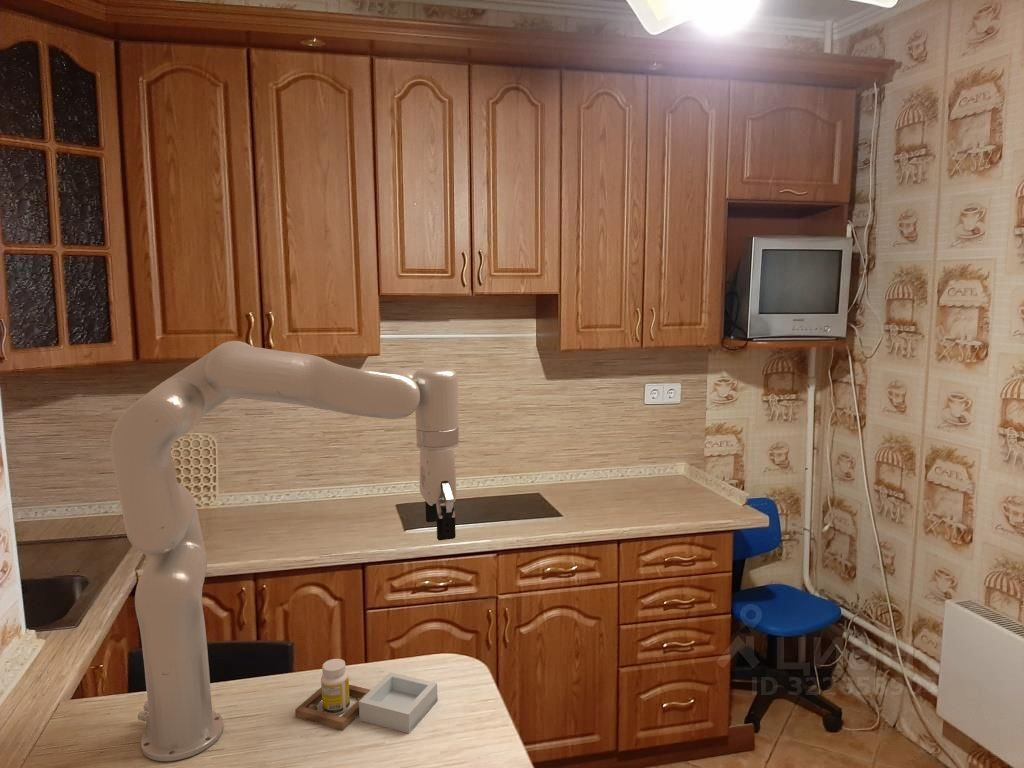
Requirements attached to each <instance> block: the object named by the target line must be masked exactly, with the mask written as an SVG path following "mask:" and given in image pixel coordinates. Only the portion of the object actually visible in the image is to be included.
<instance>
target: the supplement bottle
mask: <svg viewBox="0 0 1024 768" xmlns="http://www.w3.org/2000/svg"><path fill="white" fill-rule="evenodd" d="M346 667H347V666H346V662H345V660H344V659H341V658H332V659H328V660H326V661H325V662H324V663H323V664H322V669H321V670H322V672H321V673H322V675H321V678H320V684H321V687H322V701H321V702H322V703H321V704H322V710H323V711H322V712H325V713H329V714H332V715H336V716H339V715H341V714H344V713H345V712H346V711H348V710H349V709H350V707H351V697H350V696H349V685H350V683H349V680H350V679H349V673H348V671H347V670H346V669H347V668H346ZM321 687H320V688H321Z"/></svg>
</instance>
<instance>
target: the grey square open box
mask: <svg viewBox="0 0 1024 768" xmlns="http://www.w3.org/2000/svg"><path fill="white" fill-rule="evenodd" d="M438 699H439V697H438V683H437V682H433V681H430V680H425V679H420V678H417V677H412V676H408V675H405V674H404V675H403V674H400V673H395V672H392V671H389V672H387V674H386V675H385V676H384V677H383V678H382V679H381V680H379V682H378V683H377V684H376V685H374V687H372V689H370V691H369V692H368V693H367V694H366V695H365V696H364V697H363V698H362V699H361V700H360V701H359V715H358V717H359V721H362V722H365V723H369V724H373V725H377V726H381V727H385V728H388V729H392V730H396V731H398V732H403V733H407V734H410V733H411V732H413V730H414V729H415V728H416V727H417V725H418V724H419V723H420V722H421V721H422V720H423V718H424V717H425V716H426V715H427V714H428V713H429V711H431V709H432V708H433V707H434V706H435V705H436V704H437V702H438Z"/></svg>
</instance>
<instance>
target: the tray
mask: <svg viewBox="0 0 1024 768" xmlns="http://www.w3.org/2000/svg"><path fill="white" fill-rule="evenodd" d="M370 690H371V689H369V688H364V687H361V686H357V685H353V684H349V697H350V696H352V697H351V698H354V697H355V698H354V699H358V698H359V699H358V700H357V701H356V702H355V703H354V704H352V706H350V707H349V708H348V709H347V710H346V711H345V712H343V713H342V715H341V716H339V715H332V714H329V713H325V712H324V711H322V710H317V709H318V707H317V705H319V704H320V703H321V702H322V701H321V700H322V687H320V688H318V689H317V690H316V691H315V692H314V693H313V694H311V695H310V696H309V697H308V698H306V700H304V701H303V702H302V703H301V704H300V705H298V706H297V707H296V708H295V709H294V713H295V715H294V716H295V718H297V719H300V720H304V721H308V722H311V723H315V724H318V725H321V726H325V727H329V728H333V729H336V730H340V731H344V730H345V729H346V728H347V727H348V726H349V725H350V724H352V723H353V721H354V720H355V719H356V718H357V717H359V701H360V700H361V699H362V698H363V697H364V696H365V695H366V694H367V693H368V692H369V691H370ZM320 701H321V702H320ZM319 702H320V703H319ZM318 703H319V704H318Z"/></svg>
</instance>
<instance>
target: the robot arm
mask: <svg viewBox="0 0 1024 768" xmlns="http://www.w3.org/2000/svg"><path fill="white" fill-rule="evenodd" d="M458 388H459V386H458V375H457V372H456V371H455V370H454V369H452V368H448V367H440V366H439V367H438V366H437V367H436V366H435V367H434V366H433V367H424V368H421V369H415V368H414V369H413V368H401V367H386V368H383V369H380V370H378V371H373V370H365V369H361V368H354V367H349V366H346V365H341V364H338V363H335V362H333V361H330V360H329V359H326V358H323V357H321V356H317V355H313V354H309V353H308V354H307V353H300V352H294V351H285V350H284V351H283V350H276V349H269V348H264V347H259V346H258V347H256V346H252V345H250V344H248V343H247V342H244V341H240V340H229V341H226V342H223V343H222V344H219V345H218V346H216V347H215V348H213V349H212V350H210V351H209V352H207V354H204V356H202V357H200V358H199V359H198V360H196V361H194V362H193V363H191V364H190V365H187V366H186V367H184V368H183V369H182V370H180V371H178V372H177V373H175V374H173V375H172V376H170V377H168V378H167V379H166V380H164V381H162V382H161V383H160V384H158V385H157V386H155V387H154V388H152V389H151V390H150V391H149V392H147V393H146V394H144V395H143V396H142V397H141V398H139V399H138V400H136V401H135V402H133V404H131V406H129V407H128V408H127V409H126V410H125V411H124V412H123V413H122V414H121V415H120V416H119V417H118V419H117V421H116V422H115V424H114V426H113V428H112V431H111V435H110V436H111V437H110V440H109V441H110V442H109V443H110V444H109V451H110V457H111V463H112V468H113V472H114V477H115V481H116V489H117V494H118V498H119V503H120V508H121V512H122V517H123V522H124V523H123V524H124V530H125V533H126V536H127V540H128V541H129V543H130V544H131V545H132V547H133V548H134V549H135V550H136V551H138V552H139V553H142V554H144V555H145V558H146V565H145V567H143V568H144V569H143V570H142V573H141V575H140V577H139V579H138V582H137V584H136V589H135V593H134V594H135V595H134V608H135V614H136V620H137V621H138V627H139V633H140V639H141V649H142V658H143V665H144V666H143V667H144V678H145V687H146V688H145V689H146V698H147V699H146V700H147V701H146V702H144V705H143V710H142V711H139V713H138V714H137V719H138V720H140V721H142V722H146V731H145V732H144V733H143V735H142V737H141V740H140V747H141V749H140V750H141V752H142V753H143V755H144V756H145V757H146V758H148V759H150V760H153V761H157V762H158V761H159V762H173V761H179V760H184V759H187V758H189V757H190V758H191V757H193V756H196V755H197V754H200V753H201V752H203V751H206V750H207V749H208V748H210V747H211V746H213V744H215V743H216V742H217V741H218V740H219V738H220V737H221V735H222V733H223V731H224V720H223V717H222V716H221V714H219V713H218V712H216V711H214V710H213V705H212V704H213V703H212V691H211V677H210V665H209V654H208V643H207V632H206V630H207V629H206V623H205V622H206V621H205V615H204V609H203V587H204V583H205V577H206V573H207V569H208V556H207V551H206V546H205V542H204V537H203V531H202V528H201V521H200V517H199V512H198V507H197V504H196V500H195V498H194V496H193V494H192V493H191V491H190V489H188V488H187V487H185V485H182V484H181V483H178V479H177V478H178V477H177V471H176V470H177V469H176V465H175V462H174V459H173V455H172V447H173V444H174V443H175V442H176V441H177V440H178V439H180V438H182V437H183V436H185V435H186V434H188V433H189V432H190V431H191V430H192V429H193V428H194V427H195V425H196V424H197V423H198V421H199V420H200V419H201V418H203V417H204V416H206V415H207V414H209V413H210V412H212V411H213V410H215V409H217V408H219V406H221V405H223V404H224V403H226V402H227V401H229V400H230V399H232V398H236V399H237V398H239V399H248V400H255V401H264V402H272V403H273V402H274V403H282V404H288V405H289V404H291V405H298V406H305V407H308V408H309V407H310V408H314V409H319V410H325V411H331V412H336V413H342V414H347V415H352V416H357V417H358V416H361V417H367V418H376V419H377V418H378V419H384V420H385V419H386V420H400V419H405V418H408V417H409V416H411V415H412V414H413V413H414V412H415V435H416V436H415V437H416V440H415V441H416V448H418V449H419V450H420V451H419V492H420V495H421V496H422V498H423V499H424V503H425V505H424V506H425V521H426V522H427V523H435V522H436V540H437V541H439V542H440V541H447V540H454V539H455V538H456V534H457V533H456V513H455V507H454V503H455V502H456V500H457V477H456V476H457V475H456V474H457V473H456V458H455V448H457V447H459V446H460V436H459V435H460V433H459V429H460V428H459V395H458V394H459V393H458V392H459V390H458Z"/></svg>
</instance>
